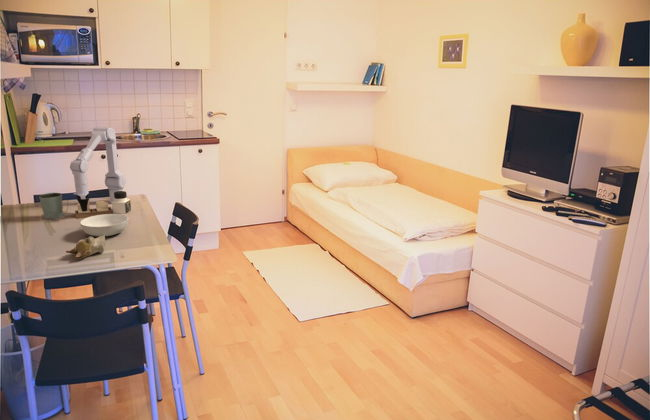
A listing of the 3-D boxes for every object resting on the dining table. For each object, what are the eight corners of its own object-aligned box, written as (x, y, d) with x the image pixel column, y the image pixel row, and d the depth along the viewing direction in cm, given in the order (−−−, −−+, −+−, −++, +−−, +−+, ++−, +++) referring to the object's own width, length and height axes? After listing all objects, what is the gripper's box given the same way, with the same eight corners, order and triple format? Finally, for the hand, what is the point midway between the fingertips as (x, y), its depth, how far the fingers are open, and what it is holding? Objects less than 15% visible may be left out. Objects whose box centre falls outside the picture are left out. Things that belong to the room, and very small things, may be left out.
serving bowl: (138, 229, 248) (137, 215, 246) (110, 243, 229) (108, 228, 227) (102, 225, 253) (100, 211, 251) (71, 238, 234) (69, 224, 232)
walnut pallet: (75, 215, 268) (74, 209, 267) (111, 211, 275) (110, 206, 274) (76, 220, 259) (75, 215, 258) (112, 216, 266) (112, 211, 266)
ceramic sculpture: (109, 234, 214) (71, 244, 204) (112, 253, 216) (75, 264, 207) (98, 228, 221) (62, 238, 211) (102, 247, 224) (66, 257, 214)
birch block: (78, 214, 265) (77, 203, 264) (90, 213, 268) (88, 202, 266) (78, 216, 262) (77, 205, 260) (90, 215, 264) (89, 204, 263)
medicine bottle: (126, 215, 269) (124, 193, 265) (112, 215, 269) (110, 193, 266) (131, 211, 276) (129, 189, 272) (118, 211, 276) (116, 189, 272)
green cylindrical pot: (68, 215, 268) (65, 193, 264) (57, 221, 258) (53, 198, 254) (50, 214, 268) (47, 192, 265) (38, 220, 259) (34, 197, 255)
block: (97, 212, 269) (95, 201, 267) (108, 211, 271) (107, 200, 270) (97, 214, 266) (96, 203, 264) (109, 213, 268) (107, 202, 266)
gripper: (72, 181, 265) (75, 206, 268) (72, 187, 252) (76, 214, 256) (87, 180, 268) (89, 205, 272) (88, 186, 255) (91, 212, 259)
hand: (84, 209), depth 264 cm, fingers open, 6 cm apart
